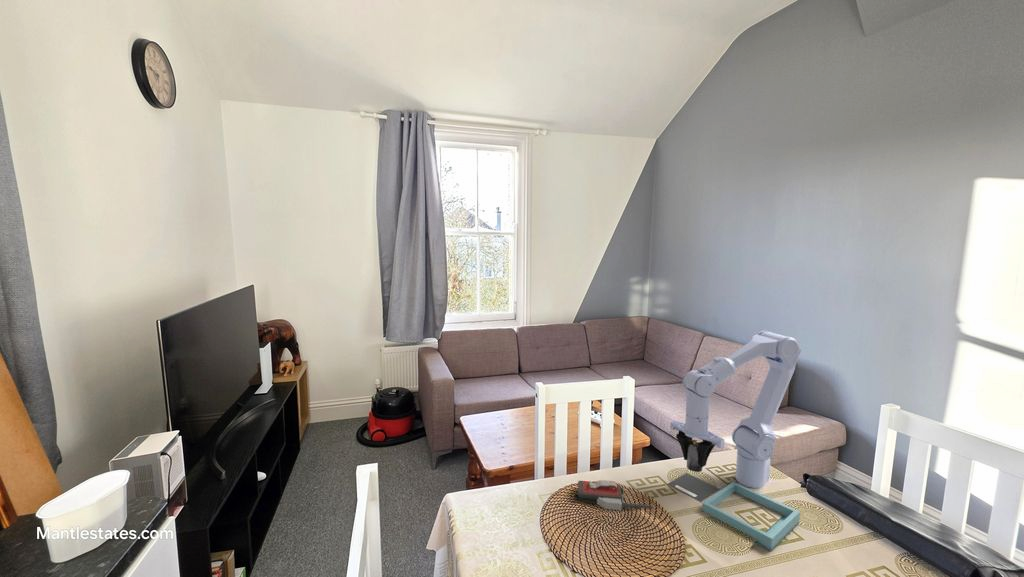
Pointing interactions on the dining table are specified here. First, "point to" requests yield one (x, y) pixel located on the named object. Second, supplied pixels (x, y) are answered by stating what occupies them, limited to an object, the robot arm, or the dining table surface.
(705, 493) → the grey square pad
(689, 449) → the battery cell
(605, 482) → the walkie-talkie
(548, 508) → the dining table surface
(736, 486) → the rectangular frame
